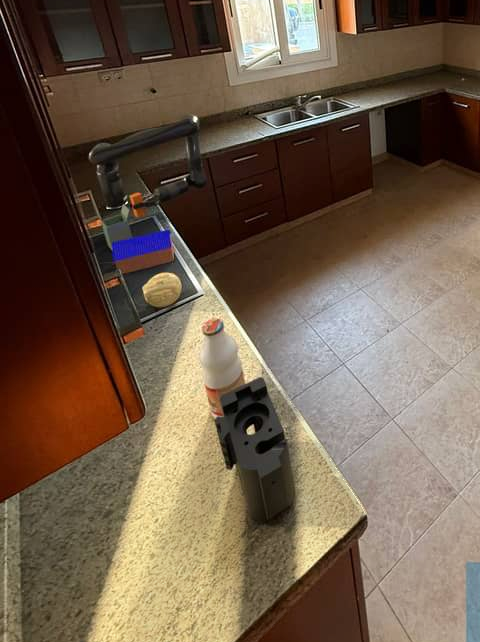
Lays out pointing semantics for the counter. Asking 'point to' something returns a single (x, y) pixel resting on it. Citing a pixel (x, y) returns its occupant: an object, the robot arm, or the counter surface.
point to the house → (143, 251)
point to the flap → (125, 211)
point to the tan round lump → (162, 289)
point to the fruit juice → (219, 364)
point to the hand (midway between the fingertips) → (131, 206)
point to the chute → (116, 229)
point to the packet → (134, 200)
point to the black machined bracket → (256, 449)
